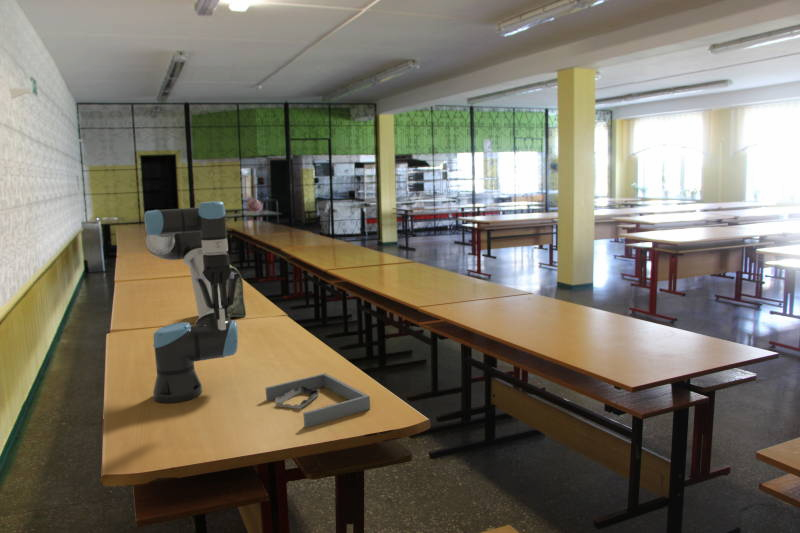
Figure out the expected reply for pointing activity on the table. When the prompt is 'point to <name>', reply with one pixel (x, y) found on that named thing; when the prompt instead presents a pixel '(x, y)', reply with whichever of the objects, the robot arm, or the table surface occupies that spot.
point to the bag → (236, 297)
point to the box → (328, 413)
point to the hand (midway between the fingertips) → (222, 329)
